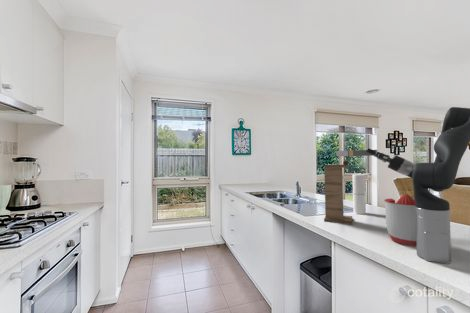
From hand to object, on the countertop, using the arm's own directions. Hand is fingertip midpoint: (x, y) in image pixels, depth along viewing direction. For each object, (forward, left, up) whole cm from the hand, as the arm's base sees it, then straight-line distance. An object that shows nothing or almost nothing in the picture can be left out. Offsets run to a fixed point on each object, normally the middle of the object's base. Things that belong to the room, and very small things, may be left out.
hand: (367, 150), depth 125 cm
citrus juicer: (-25, -13, -40) cm, 49 cm away
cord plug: (0, +6, -3) cm, 6 cm away
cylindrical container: (+25, +4, -40) cm, 48 cm away
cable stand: (0, +15, -40) cm, 43 cm away
